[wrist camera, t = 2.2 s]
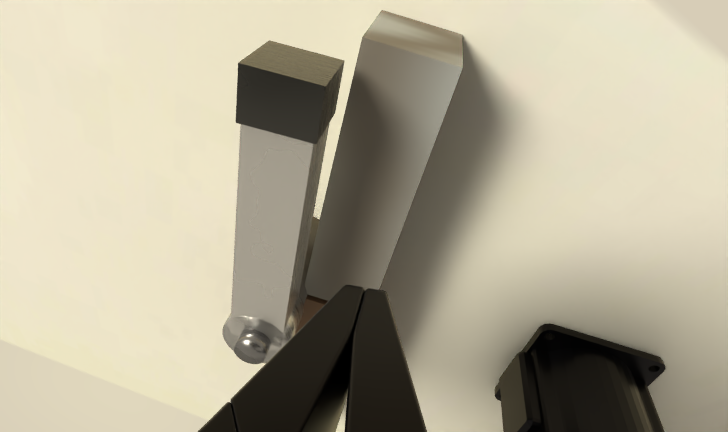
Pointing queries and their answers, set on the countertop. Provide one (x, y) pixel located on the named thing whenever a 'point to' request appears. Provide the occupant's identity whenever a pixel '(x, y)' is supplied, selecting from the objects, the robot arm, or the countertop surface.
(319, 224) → the wooden block clamp
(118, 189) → the countertop surface
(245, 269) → the bar
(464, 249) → the countertop surface
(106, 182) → the countertop surface
